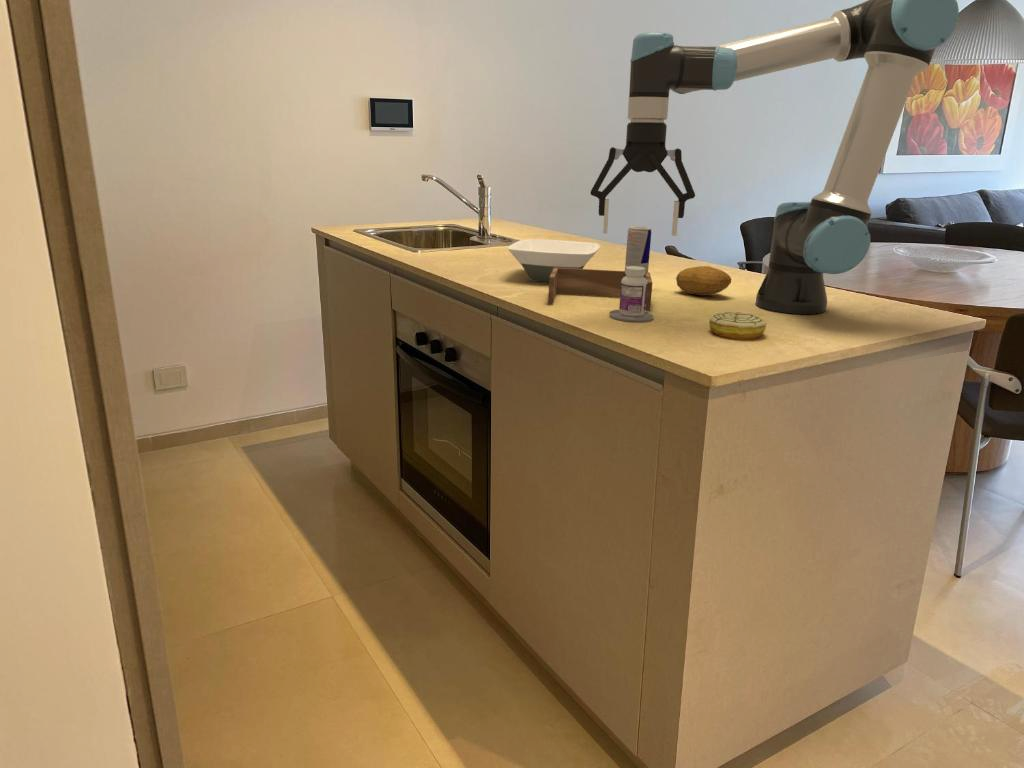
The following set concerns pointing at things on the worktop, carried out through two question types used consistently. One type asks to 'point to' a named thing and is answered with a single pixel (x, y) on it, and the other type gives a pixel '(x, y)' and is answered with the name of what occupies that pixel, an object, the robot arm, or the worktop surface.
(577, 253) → the bowl
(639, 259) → the beverage can
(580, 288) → the wooden u-shaped frame
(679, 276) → the potato
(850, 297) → the worktop surface
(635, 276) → the pill bottle
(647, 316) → the coaster
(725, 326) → the decorated donut
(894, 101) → the robot arm
